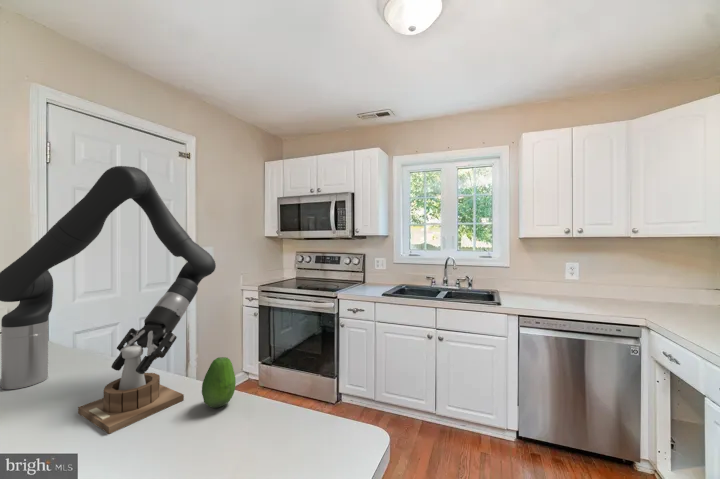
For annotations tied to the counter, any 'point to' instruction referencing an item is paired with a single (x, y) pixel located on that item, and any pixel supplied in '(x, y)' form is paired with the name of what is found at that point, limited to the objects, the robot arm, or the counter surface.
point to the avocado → (219, 383)
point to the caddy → (129, 403)
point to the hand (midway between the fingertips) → (127, 370)
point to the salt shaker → (131, 368)
